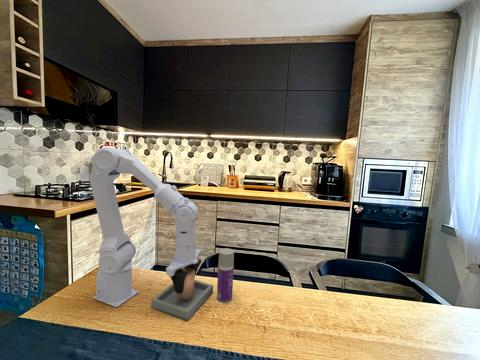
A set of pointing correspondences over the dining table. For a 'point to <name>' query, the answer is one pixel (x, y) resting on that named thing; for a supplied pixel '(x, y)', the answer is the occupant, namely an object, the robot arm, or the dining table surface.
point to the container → (225, 275)
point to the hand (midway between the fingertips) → (184, 287)
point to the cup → (188, 284)
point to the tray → (182, 301)
